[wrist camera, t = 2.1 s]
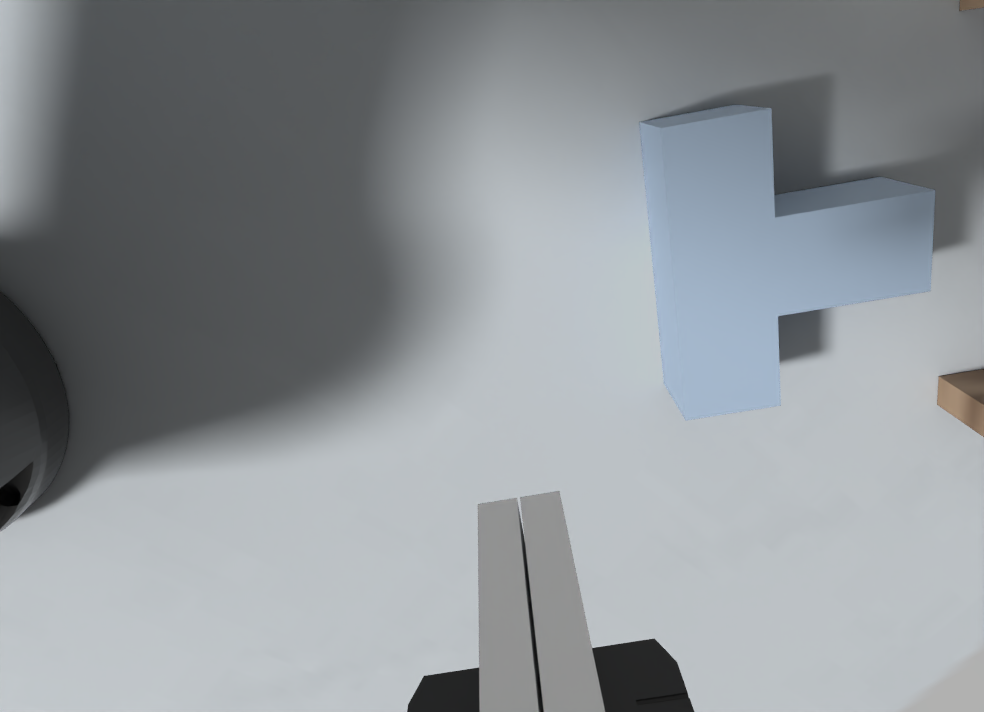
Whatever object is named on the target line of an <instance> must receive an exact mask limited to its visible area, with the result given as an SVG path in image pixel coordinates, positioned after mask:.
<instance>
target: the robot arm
mask: <svg viewBox="0 0 984 712" xmlns="http://www.w3.org/2000/svg"><path fill="white" fill-rule="evenodd" d="M68 430H69V416H68V406H67V399H66V395H65V390H64V387H63V383H62V380H61V377H60V374H59V372H58V369H57V367H56V365H55V362H54V360H53V358H52V356H51V354H50V352H49V351H48V349H47V347H46V345H45V344H44V342H43V340H42V339H41V337H40V336H39V334H38V333H37V331H36V330H35V329H34V327H33V326H32V325H31V323H30V322H29V321H28V320H27V319H26V317H25V316H24V315H23V314H22V313H21V312H20V310H19V309H18V308H17V307H16V306H15V305H14V304H13V303H12V302H11V301H10V300H9V299H8V298H7V297H6V296H4V295H3V294H2V293H1V292H0V531H2V530H3V529H5V528H6V527H7V526H9V525H10V524H11V523H12V522H13V521H14V520H16V519H17V518H18V517H19V516H20V515H21V514H22V513H23V512H24V511H25V510H26V509H27V508H28V507H29V506H30V505H31V504H32V503H33V502H34V501H36V500H37V499H38V498H39V497H40V496H41V495H42V493H43V492H44V491H45V490H46V489H47V488H48V486H49V485H50V483H51V482H52V480H53V479H54V477H55V475H56V474H57V472H58V470H59V467H60V465H61V463H62V460H63V457H64V454H65V450H66V446H67V440H68ZM520 500H521V510H522V519H523V528H524V534H523V529H522V523H521V518H520V513H519V507H518V502H517V498H513V499H507V500H500V501H494V502H488V503H482V504H478V585H479V668H474V669H467V670H461V671H454V672H447V673H441V674H434V675H428V676H424V677H423V679H422V681H421V683H420V684H419V686H418V688H417V690H416V692H415V693H414V695H413V697H412V699H411V701H410V703H409V704H408V711H407V712H694V710H693V707H692V704H691V701H690V698H688V693H687V690H686V687H685V684H684V681H683V678H682V676H681V673H680V670H679V667H678V664H677V662H676V661H675V660H674V659H673V658H672V657H671V656H670V654H669V653H668V652H667V651H666V650H665V649H664V648H663V647H662V646H661V645H660V644H659V643H658V642H657V641H656V640H655V639H649V640H642V641H636V642H629V643H623V644H616V645H610V646H603V647H597V648H592V646H591V641H590V636H589V632H588V627H587V622H586V617H585V612H584V608H583V603H582V598H581V593H580V588H579V584H578V579H577V574H576V569H575V564H574V559H573V555H572V550H571V545H570V540H569V535H568V531H567V526H566V521H565V516H564V511H563V507H562V502H561V497H560V492H559V491H556V492H550V493H543V494H537V495H531V496H525V497H520ZM524 537H525V539H524Z"/></svg>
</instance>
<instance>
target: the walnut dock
mask: <svg viewBox="0 0 984 712" xmlns="http://www.w3.org/2000/svg"><path fill="white" fill-rule="evenodd" d="M983 7H984V0H960V9H959V11H962V10H969V9H976V8H983ZM937 405H939V406H940V407H941V408H943V409H944V410H946V411H947V412H949V413H950V414H951V415H953V416H954V417H956V418H957V419H959V420H960V421H961V422H963V423H964V424H966V425H967V426H969V427H970V428H971V429H973V430H974V431H976V432H977V433H979V434H980V435H982V436H983V437H984V369H981V370H975V371H969V372H963V373H957V374H951V375H945V376H939V382H938V399H937Z"/></svg>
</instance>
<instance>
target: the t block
mask: <svg viewBox="0 0 984 712" xmlns="http://www.w3.org/2000/svg"><path fill="white" fill-rule="evenodd" d="M639 125H640V135H641V146H642V156H643V167H644V177H645V188H646V199H647V209H648V220H649V230H650V241H651V251H652V262H653V273H654V283H655V294H656V304H657V315H658V325H659V336H660V347H661V357H662V368H663V378H664V384H665V386H666V388H667V390H668V391H669V393H670V395H671V396H672V398H673V400H674V402H675V403H676V405H677V407H678V408H679V410H680V412H681V413H682V415H683V417H684V419H685V420H692V419H698V418H705V417H711V416H717V415H724V414H730V413H736V412H743V411H749V410H755V409H762V408H768V407H774V406H781V399H780V366H779V334H778V316H782V315H789V314H795V313H801V312H807V311H813V310H819V309H825V308H831V307H837V306H843V305H849V304H855V303H862V302H868V301H874V300H880V299H886V298H892V297H898V296H904V295H910V294H916V293H922V292H928V291H930V290H931V270H932V250H933V229H934V209H935V190H933V189H929V188H925V187H921V186H917V185H913V184H909V183H905V182H901V181H897V180H893V179H888V178H884V177H876V178H870V179H864V180H858V181H853V182H847V183H841V184H835V185H830V186H824V187H818V188H812V189H806V190H801V191H795V192H789V193H783V194H778V195H774V172H773V139H772V108H764V107H754V106H745V105H730V106H725V107H719V108H714V109H709V110H703V111H698V112H692V113H687V114H681V115H676V116H670V117H665V118H659V119H654V120H648V121H643V122H639Z"/></svg>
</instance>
